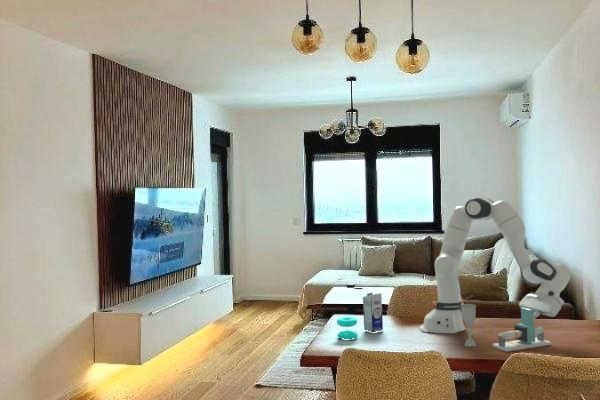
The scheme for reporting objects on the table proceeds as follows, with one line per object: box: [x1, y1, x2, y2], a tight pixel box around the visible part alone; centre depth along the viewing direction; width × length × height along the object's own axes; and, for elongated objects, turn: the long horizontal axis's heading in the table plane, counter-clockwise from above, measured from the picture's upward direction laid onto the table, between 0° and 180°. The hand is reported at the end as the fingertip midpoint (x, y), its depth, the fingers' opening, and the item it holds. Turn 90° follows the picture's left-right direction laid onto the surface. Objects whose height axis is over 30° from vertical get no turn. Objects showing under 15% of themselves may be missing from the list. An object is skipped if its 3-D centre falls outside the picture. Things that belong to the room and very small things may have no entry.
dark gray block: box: [513, 324, 527, 342], centre depth 246 cm, size 2×6×6 cm, turn 18°
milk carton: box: [362, 292, 384, 332], centre depth 284 cm, size 7×7×20 cm
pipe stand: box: [492, 326, 552, 352], centre depth 246 cm, size 24×9×7 cm, turn 108°
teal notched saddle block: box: [515, 307, 536, 343], centre depth 247 cm, size 4×7×14 cm, turn 18°
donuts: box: [336, 316, 359, 339], centre depth 272 cm, size 10×10×10 cm
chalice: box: [461, 303, 477, 348], centre depth 251 cm, size 7×7×18 cm
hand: (529, 319), depth 248 cm, fingers closed, pressing on teal notched saddle block
